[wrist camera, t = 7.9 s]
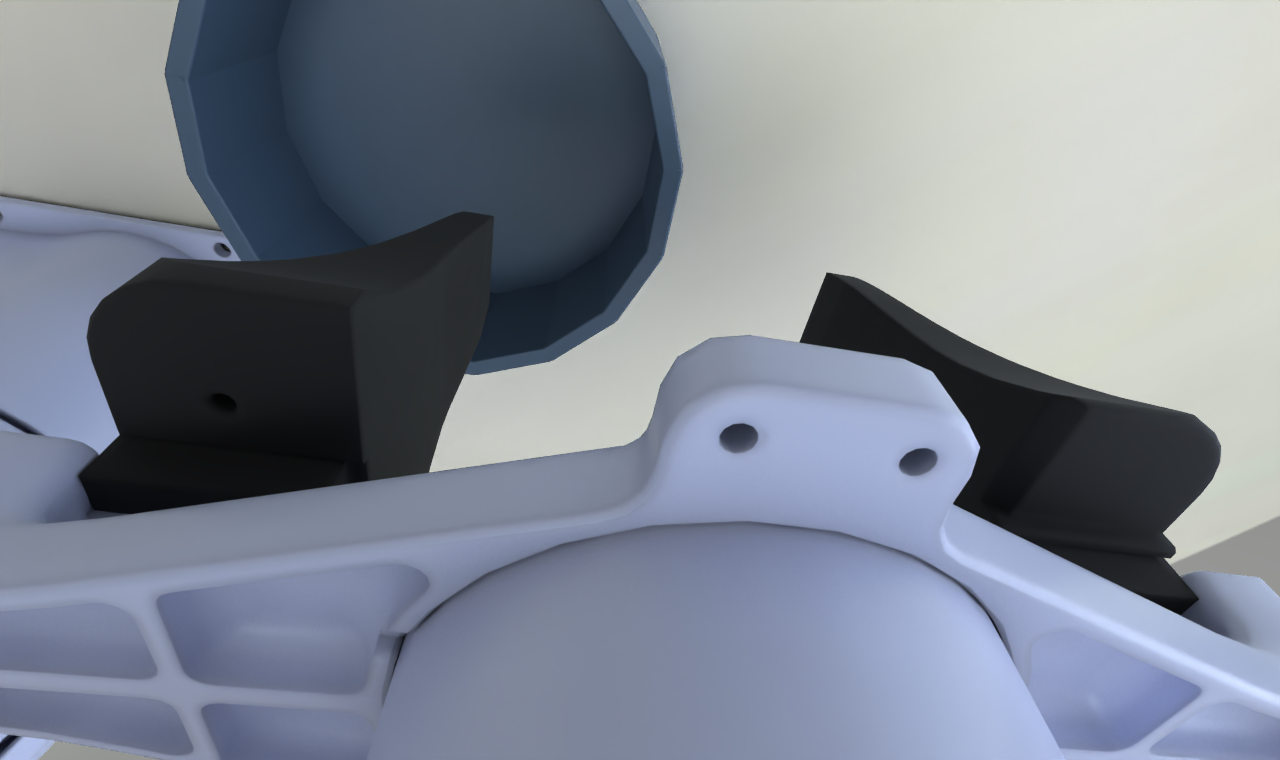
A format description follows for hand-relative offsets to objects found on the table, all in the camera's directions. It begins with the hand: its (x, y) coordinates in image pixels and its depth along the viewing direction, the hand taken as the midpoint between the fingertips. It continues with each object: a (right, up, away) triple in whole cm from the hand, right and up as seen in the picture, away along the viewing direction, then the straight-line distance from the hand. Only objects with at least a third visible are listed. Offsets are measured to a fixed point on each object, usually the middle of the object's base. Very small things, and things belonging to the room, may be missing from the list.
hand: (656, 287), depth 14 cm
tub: (-5, +6, +6) cm, 10 cm away
